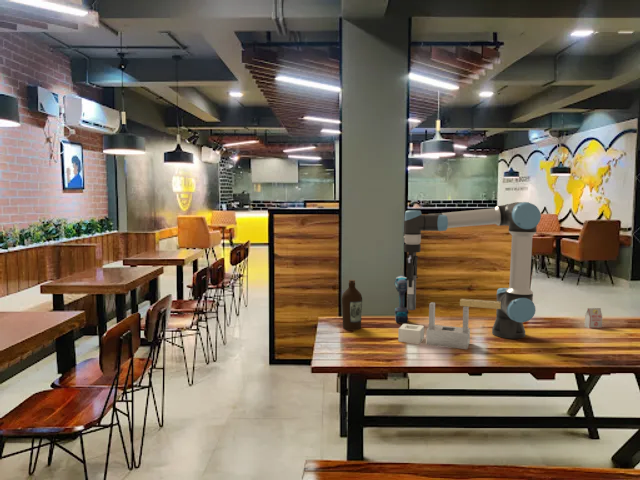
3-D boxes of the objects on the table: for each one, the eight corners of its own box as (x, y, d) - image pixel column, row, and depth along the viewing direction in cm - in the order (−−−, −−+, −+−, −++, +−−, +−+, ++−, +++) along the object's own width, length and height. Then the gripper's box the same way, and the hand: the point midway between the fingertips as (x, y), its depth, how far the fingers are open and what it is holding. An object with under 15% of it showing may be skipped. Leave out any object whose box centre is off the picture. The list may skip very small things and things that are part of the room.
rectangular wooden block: (500, 307, 207) (501, 301, 206) (500, 309, 203) (500, 303, 203) (460, 304, 213) (461, 298, 213) (459, 305, 210) (459, 300, 210)
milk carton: (584, 326, 245) (585, 307, 244) (597, 326, 245) (598, 307, 245) (589, 328, 241) (590, 309, 240) (601, 327, 242) (602, 308, 241)
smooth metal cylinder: (416, 308, 222) (417, 275, 220) (414, 310, 218) (415, 276, 217) (408, 307, 223) (408, 274, 222) (406, 309, 220) (406, 275, 218)
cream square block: (423, 338, 224) (424, 325, 224) (419, 343, 215) (419, 331, 215) (403, 335, 228) (403, 323, 228) (398, 341, 219) (398, 328, 219)
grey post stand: (469, 343, 216) (470, 304, 215) (467, 349, 207) (468, 308, 206) (430, 338, 223) (430, 300, 222) (426, 344, 214) (426, 305, 213)
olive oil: (337, 326, 245) (337, 279, 243) (354, 324, 250) (355, 277, 248) (348, 331, 236) (348, 282, 234) (366, 328, 241) (366, 280, 239)
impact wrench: (406, 316, 268) (406, 272, 266) (410, 326, 246) (410, 279, 244) (392, 315, 269) (392, 272, 267) (394, 326, 246) (395, 279, 244)
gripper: (408, 241, 227) (407, 289, 229) (400, 244, 212) (399, 295, 214) (424, 242, 224) (423, 290, 226) (416, 245, 209) (415, 297, 211)
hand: (411, 293), depth 220 cm, fingers closed on smooth metal cylinder, 4 cm apart
